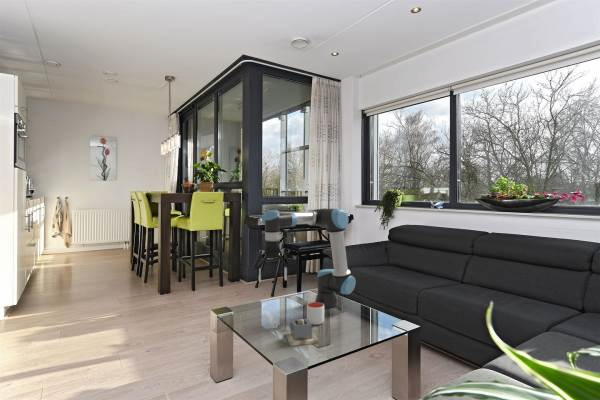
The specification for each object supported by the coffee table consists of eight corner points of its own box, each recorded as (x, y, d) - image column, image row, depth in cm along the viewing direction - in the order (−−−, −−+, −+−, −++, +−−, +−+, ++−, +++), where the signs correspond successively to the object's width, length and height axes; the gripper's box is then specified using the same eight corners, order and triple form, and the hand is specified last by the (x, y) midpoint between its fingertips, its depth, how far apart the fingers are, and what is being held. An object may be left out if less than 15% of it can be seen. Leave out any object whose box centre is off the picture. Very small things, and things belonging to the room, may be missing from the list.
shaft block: (310, 331, 189) (310, 314, 189) (318, 342, 176) (318, 323, 175) (284, 334, 186) (284, 316, 186) (290, 346, 172) (290, 326, 172)
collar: (307, 331, 186) (307, 318, 186) (311, 338, 177) (311, 324, 177) (290, 333, 184) (290, 320, 184) (294, 340, 175) (294, 326, 175)
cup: (323, 326, 197) (323, 308, 197) (305, 325, 199) (305, 307, 199) (325, 319, 207) (325, 302, 207) (308, 318, 209) (308, 301, 209)
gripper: (294, 238, 191) (294, 277, 191) (247, 240, 185) (248, 280, 185) (297, 240, 183) (297, 280, 184) (248, 242, 178) (249, 284, 178)
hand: (272, 280), depth 185 cm, fingers open, 13 cm apart
